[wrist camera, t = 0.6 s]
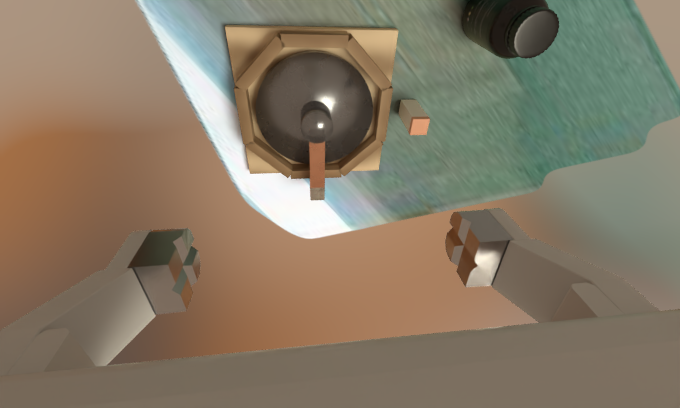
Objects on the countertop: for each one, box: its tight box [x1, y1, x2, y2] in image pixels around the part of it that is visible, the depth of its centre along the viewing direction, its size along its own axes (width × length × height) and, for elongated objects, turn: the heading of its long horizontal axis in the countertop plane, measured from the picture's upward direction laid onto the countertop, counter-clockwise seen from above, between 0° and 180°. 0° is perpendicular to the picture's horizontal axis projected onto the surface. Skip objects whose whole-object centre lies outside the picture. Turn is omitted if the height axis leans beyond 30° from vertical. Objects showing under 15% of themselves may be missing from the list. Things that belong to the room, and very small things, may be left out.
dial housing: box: [225, 25, 398, 179], centre depth 47 cm, size 22×22×3 cm
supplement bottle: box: [463, 0, 559, 59], centre depth 38 cm, size 7×7×12 cm
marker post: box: [399, 100, 430, 135], centre depth 48 cm, size 2×2×7 cm
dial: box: [256, 51, 373, 200], centre depth 47 cm, size 21×17×6 cm
